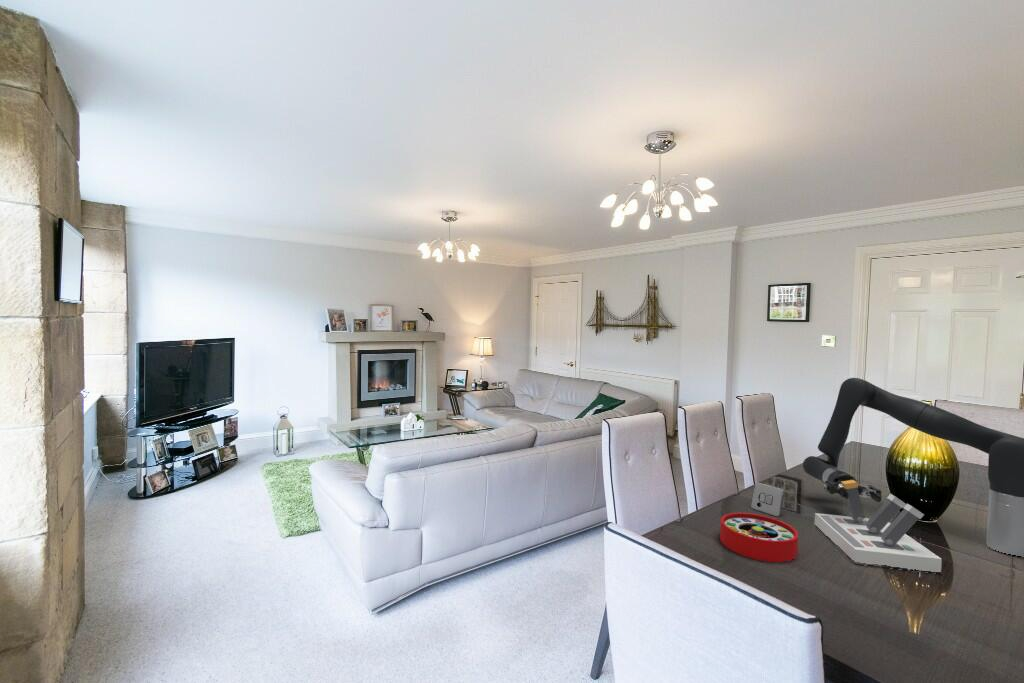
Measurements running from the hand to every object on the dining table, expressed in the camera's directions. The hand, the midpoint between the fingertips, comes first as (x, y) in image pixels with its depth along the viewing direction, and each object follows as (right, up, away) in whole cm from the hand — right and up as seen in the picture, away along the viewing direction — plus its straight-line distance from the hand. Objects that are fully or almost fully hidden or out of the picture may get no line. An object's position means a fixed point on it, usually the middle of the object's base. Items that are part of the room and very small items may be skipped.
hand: (863, 497), depth 143 cm
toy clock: (-35, -12, -6) cm, 38 cm away
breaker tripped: (0, -7, +2) cm, 8 cm away
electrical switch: (-18, -12, +21) cm, 30 cm away
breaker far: (-3, -7, -13) cm, 16 cm away
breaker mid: (-2, -7, -6) cm, 9 cm away
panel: (-2, -13, -5) cm, 14 cm away
